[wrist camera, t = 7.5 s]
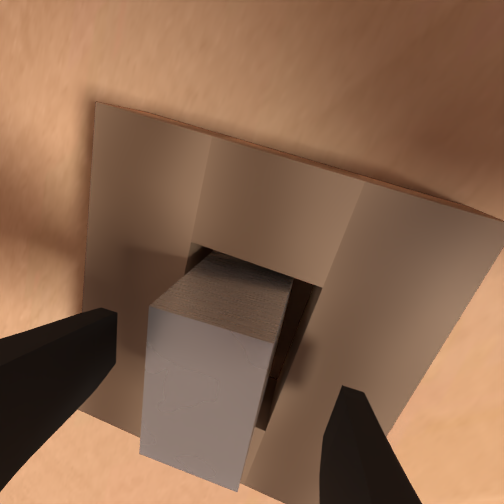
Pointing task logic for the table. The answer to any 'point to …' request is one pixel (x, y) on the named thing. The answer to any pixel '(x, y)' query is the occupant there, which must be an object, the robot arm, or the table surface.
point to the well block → (283, 261)
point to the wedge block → (211, 365)
